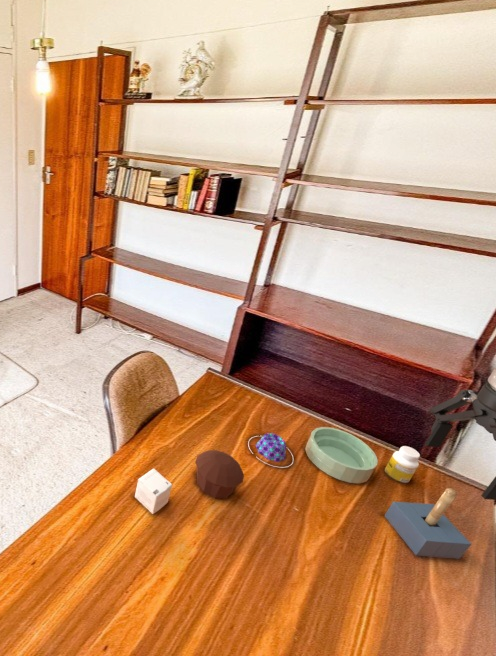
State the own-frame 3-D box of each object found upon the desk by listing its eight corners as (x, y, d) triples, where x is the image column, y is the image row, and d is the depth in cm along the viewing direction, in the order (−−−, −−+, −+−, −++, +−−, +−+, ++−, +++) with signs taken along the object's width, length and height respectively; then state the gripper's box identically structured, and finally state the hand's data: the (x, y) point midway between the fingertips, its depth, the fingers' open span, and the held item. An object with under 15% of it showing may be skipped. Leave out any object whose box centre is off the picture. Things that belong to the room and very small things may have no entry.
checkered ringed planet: (300, 472, 111) (306, 459, 108) (255, 465, 112) (260, 452, 110) (283, 440, 121) (288, 427, 119) (242, 435, 123) (246, 422, 121)
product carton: (149, 487, 104) (153, 467, 101) (167, 504, 100) (173, 484, 97) (133, 498, 101) (137, 478, 98) (152, 516, 97) (157, 496, 94)
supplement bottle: (385, 465, 114) (400, 440, 110) (409, 478, 110) (425, 452, 106) (381, 475, 111) (395, 450, 106) (405, 488, 107) (421, 463, 103)
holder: (422, 520, 99) (434, 504, 96) (458, 560, 90) (471, 544, 87) (382, 517, 99) (393, 501, 96) (414, 557, 90) (426, 541, 88)
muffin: (190, 496, 102) (198, 468, 98) (190, 463, 112) (197, 437, 108) (239, 510, 99) (250, 483, 95) (235, 476, 109) (244, 449, 104)
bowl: (345, 443, 121) (352, 428, 119) (382, 487, 107) (392, 471, 105) (294, 440, 122) (300, 425, 119) (324, 483, 108) (332, 467, 105)
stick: (419, 534, 95) (453, 486, 88) (425, 542, 94) (460, 493, 86) (412, 534, 95) (445, 486, 88) (418, 541, 94) (452, 493, 86)
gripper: (437, 354, 87) (396, 426, 96) (568, 439, 65) (498, 523, 74) (472, 356, 87) (427, 428, 96) (615, 442, 65) (540, 526, 74)
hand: (458, 469), depth 85 cm, fingers open, 13 cm apart
